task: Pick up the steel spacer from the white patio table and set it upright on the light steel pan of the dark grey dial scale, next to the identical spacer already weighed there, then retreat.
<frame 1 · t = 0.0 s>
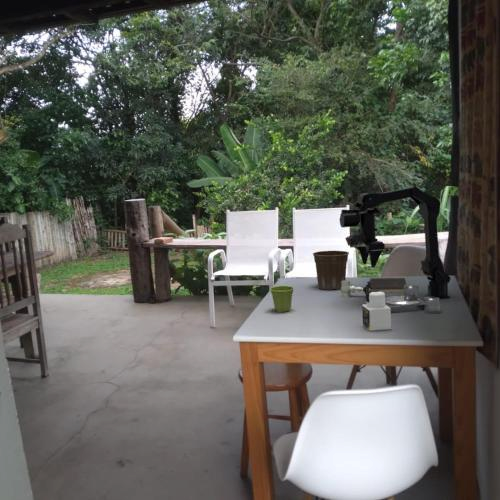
hand: (368, 265, 188), 15 cm above the table, tool pointing down, fingers open, 9 cm apart
dial scale: (398, 306, 181), on the table
hardcover book: (387, 288, 217), on the table
plant pot 2: (283, 310, 187), on the table
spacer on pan: (411, 299, 181), point 3 cm above the table, touching dial scale
medicine bottle: (376, 327, 158), on the table
valve: (355, 297, 202), on the table
steel spacer: (431, 311, 172), on the table
plant pot: (332, 288, 222), on the table
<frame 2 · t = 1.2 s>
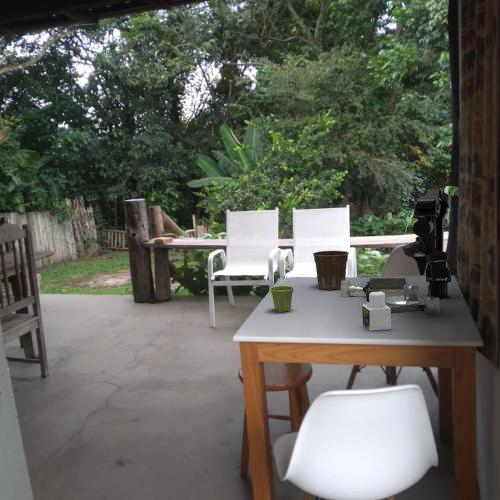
hand: (427, 277, 172), 12 cm above the table, tool pointing down, fingers open, 9 cm apart
nothing on the table moved.
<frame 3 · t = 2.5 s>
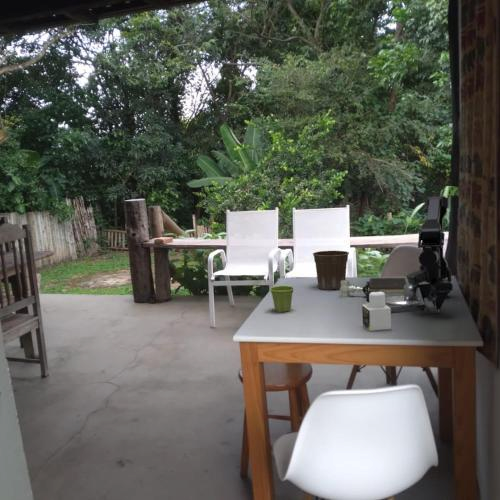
hand: (431, 306, 172), 2 cm above the table, tool pointing down, fingers open, 9 cm apart
nothing on the table moved.
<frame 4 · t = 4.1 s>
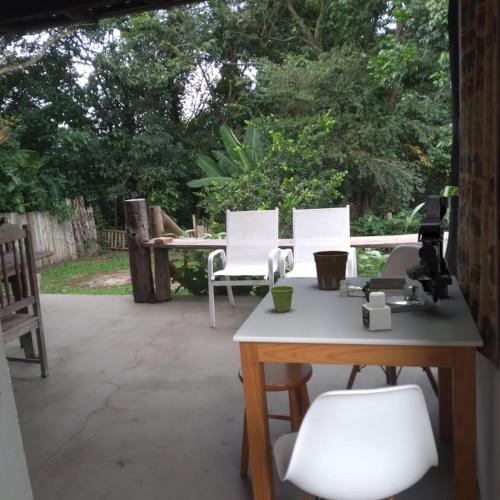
hand: (431, 300, 172), 4 cm above the table, tool pointing down, fingers closed on steel spacer, 5 cm apart
steel spacer: (432, 306, 172), point 2 cm above the table, touching gripper
everything else where it was.
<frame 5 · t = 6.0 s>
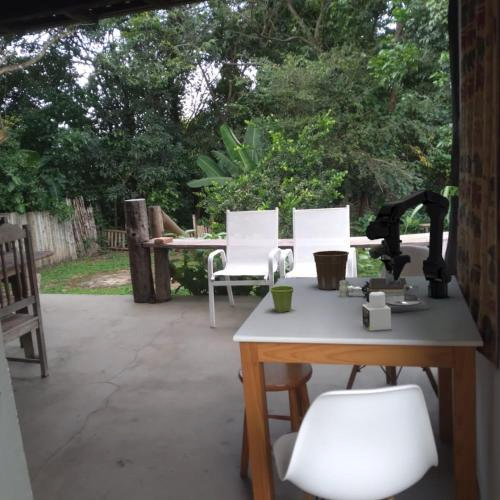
hand: (392, 279, 180), 11 cm above the table, tool pointing down, fingers closed on steel spacer, 5 cm apart
steel spacer: (393, 284, 180), point 9 cm above the table, touching gripper
everything else where it was.
when the fingers open (5 cm above the table, at t = 7.7 s): steel spacer stays where it is, resting on dial scale.
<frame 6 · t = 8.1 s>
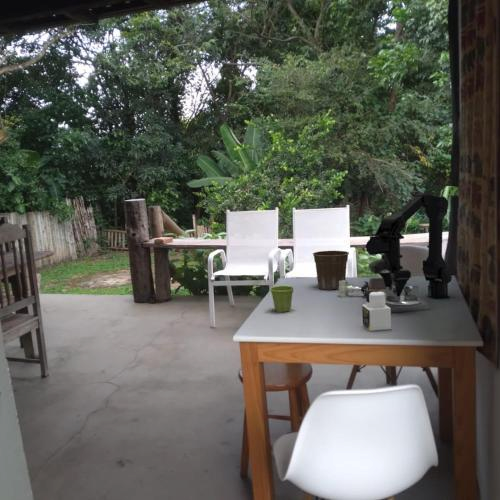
hand: (393, 293, 180), 5 cm above the table, tool pointing down, fingers open, 9 cm apart
steel spacer: (393, 300, 181), point 3 cm above the table, touching dial scale
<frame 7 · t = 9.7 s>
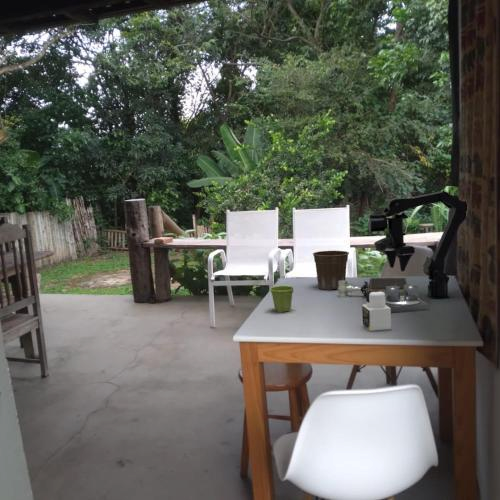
hand: (397, 269, 193), 12 cm above the table, tool pointing down, fingers open, 9 cm apart
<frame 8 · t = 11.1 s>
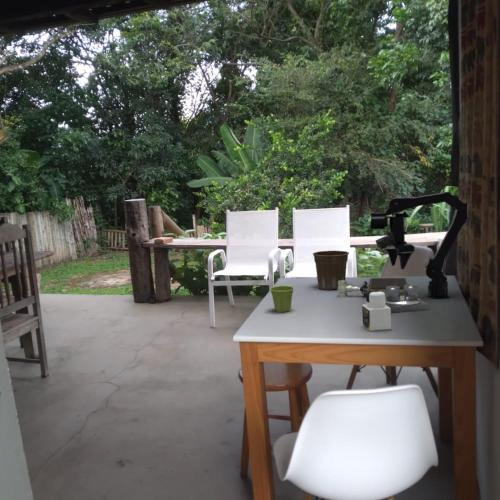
hand: (397, 267, 196), 12 cm above the table, tool pointing down, fingers open, 9 cm apart
at the end: steel spacer inside the target area on the dial scale (0.4 cm from its centre), point 2.6 cm above the dial scale's base; steel spacer tilted 0°; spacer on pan moved 0.0 cm from its start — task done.
